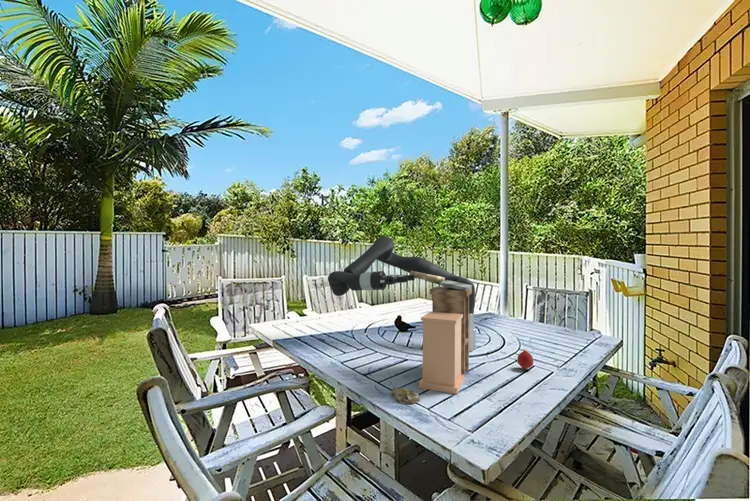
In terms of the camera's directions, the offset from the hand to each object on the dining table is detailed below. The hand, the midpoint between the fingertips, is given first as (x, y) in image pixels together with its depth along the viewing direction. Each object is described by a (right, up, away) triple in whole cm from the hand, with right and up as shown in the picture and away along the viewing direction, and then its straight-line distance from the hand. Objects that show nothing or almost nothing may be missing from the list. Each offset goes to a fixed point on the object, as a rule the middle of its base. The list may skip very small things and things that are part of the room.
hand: (410, 278), depth 139 cm
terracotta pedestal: (+10, -36, -13) cm, 40 cm away
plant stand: (+15, -36, -1) cm, 39 cm away
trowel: (+11, -2, +2) cm, 11 cm away
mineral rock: (-4, -37, -25) cm, 45 cm away
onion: (+45, -36, +1) cm, 58 cm away
